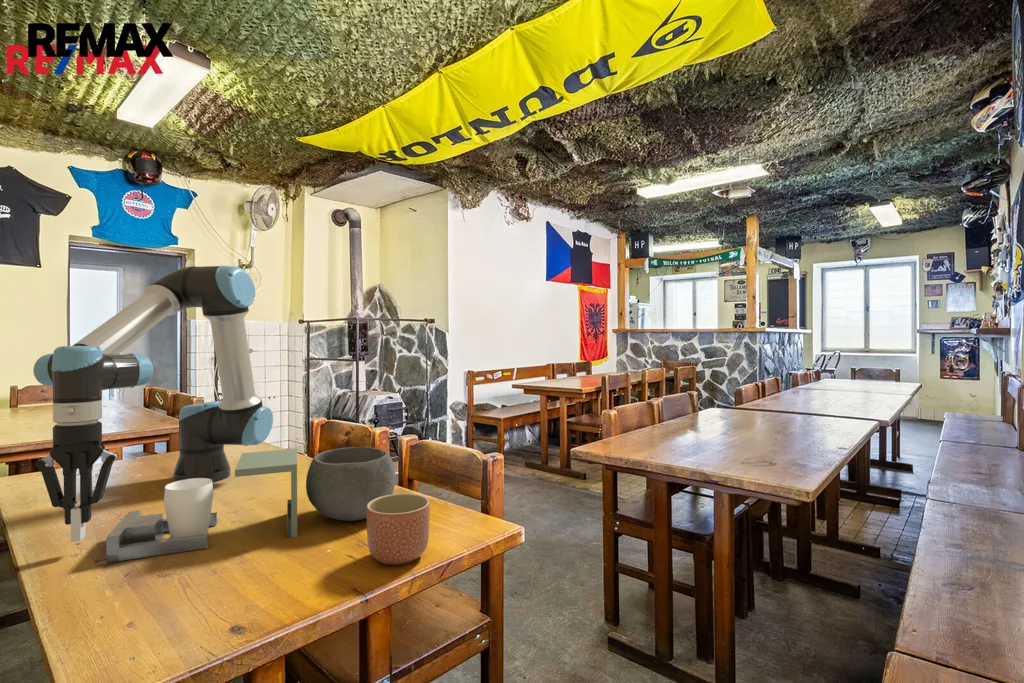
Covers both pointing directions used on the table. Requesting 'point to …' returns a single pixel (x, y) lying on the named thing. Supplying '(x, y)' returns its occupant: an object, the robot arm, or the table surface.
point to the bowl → (349, 481)
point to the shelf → (274, 464)
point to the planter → (398, 527)
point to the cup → (188, 506)
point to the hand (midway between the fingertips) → (78, 538)
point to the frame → (149, 538)
